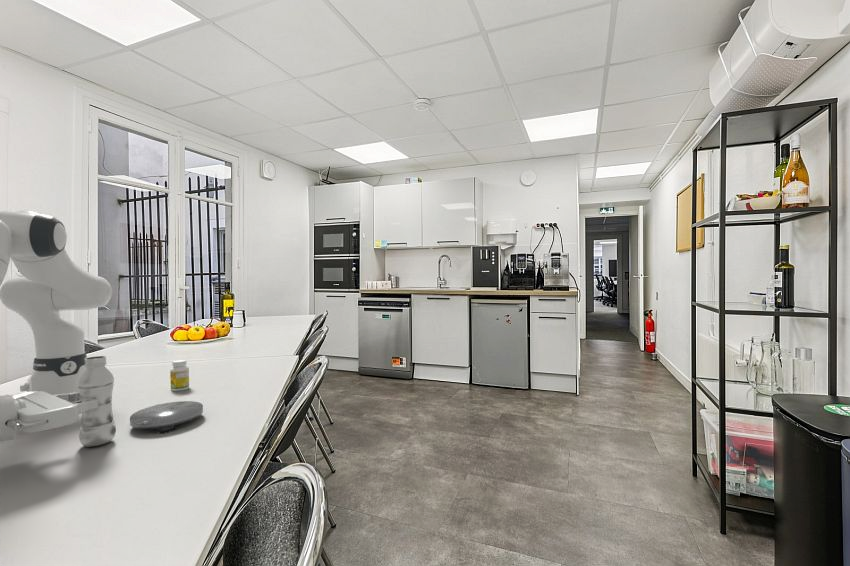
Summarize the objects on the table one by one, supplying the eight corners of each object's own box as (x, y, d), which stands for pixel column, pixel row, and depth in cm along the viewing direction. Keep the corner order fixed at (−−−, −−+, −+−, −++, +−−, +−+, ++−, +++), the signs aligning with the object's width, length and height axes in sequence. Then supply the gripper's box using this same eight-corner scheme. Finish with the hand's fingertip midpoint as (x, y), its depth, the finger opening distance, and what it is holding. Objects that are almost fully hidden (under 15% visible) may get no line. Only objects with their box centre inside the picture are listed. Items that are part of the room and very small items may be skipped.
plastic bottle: (95, 451, 86) (93, 361, 85) (71, 449, 87) (68, 360, 86) (123, 439, 92) (121, 355, 91) (100, 437, 93) (98, 354, 93)
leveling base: (118, 426, 99) (117, 415, 99) (183, 408, 113) (183, 397, 113) (149, 440, 91) (149, 427, 91) (215, 418, 105) (215, 407, 105)
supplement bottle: (189, 389, 132) (189, 361, 132) (171, 392, 129) (170, 363, 129) (188, 385, 136) (187, 358, 136) (170, 388, 133) (169, 360, 133)
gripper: (15, 412, 71) (107, 392, 82) (-17, 395, 81) (69, 379, 93) (16, 447, 71) (108, 421, 83) (-16, 425, 81) (70, 405, 93)
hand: (87, 399), depth 88 cm, fingers open, 8 cm apart
